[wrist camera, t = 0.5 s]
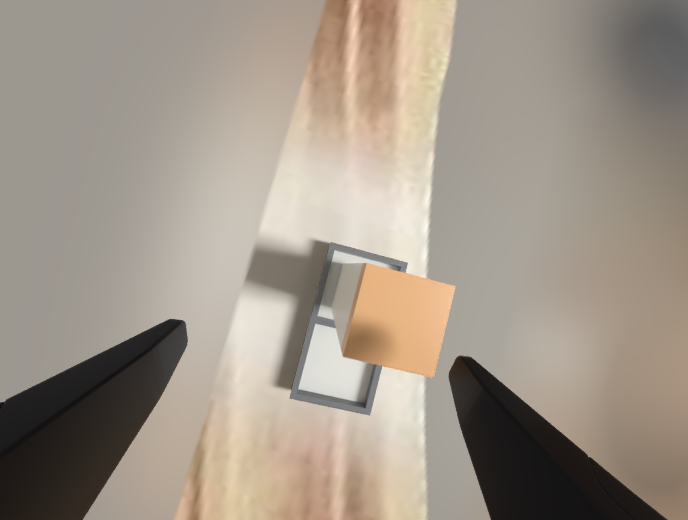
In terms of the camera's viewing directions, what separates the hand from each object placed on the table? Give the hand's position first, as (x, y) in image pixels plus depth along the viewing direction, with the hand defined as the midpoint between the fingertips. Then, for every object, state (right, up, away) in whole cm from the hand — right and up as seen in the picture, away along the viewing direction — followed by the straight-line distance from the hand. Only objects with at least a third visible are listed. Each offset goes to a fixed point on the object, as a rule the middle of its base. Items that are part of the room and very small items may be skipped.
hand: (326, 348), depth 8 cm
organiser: (+1, -3, +15) cm, 15 cm away
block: (+2, 0, +14) cm, 14 cm away
